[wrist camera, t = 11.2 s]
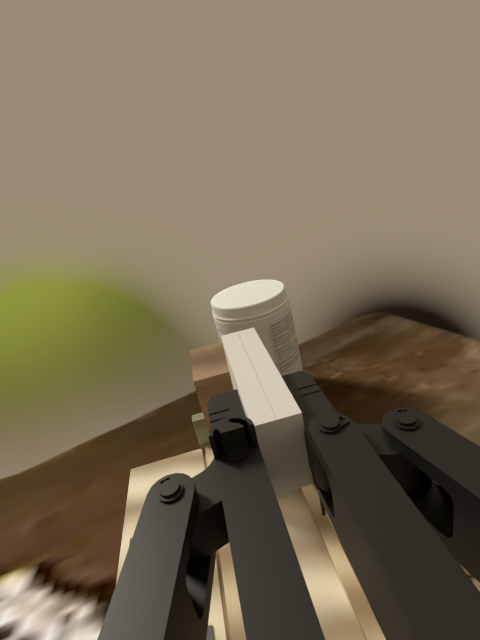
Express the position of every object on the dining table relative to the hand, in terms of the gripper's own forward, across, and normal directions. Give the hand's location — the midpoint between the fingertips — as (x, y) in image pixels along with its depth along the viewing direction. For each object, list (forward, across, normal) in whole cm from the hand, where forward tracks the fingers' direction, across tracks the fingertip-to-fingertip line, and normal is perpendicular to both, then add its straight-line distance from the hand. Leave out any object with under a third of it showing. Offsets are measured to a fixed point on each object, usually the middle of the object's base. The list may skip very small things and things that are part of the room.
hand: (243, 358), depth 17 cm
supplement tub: (+29, +5, -22) cm, 36 cm away
